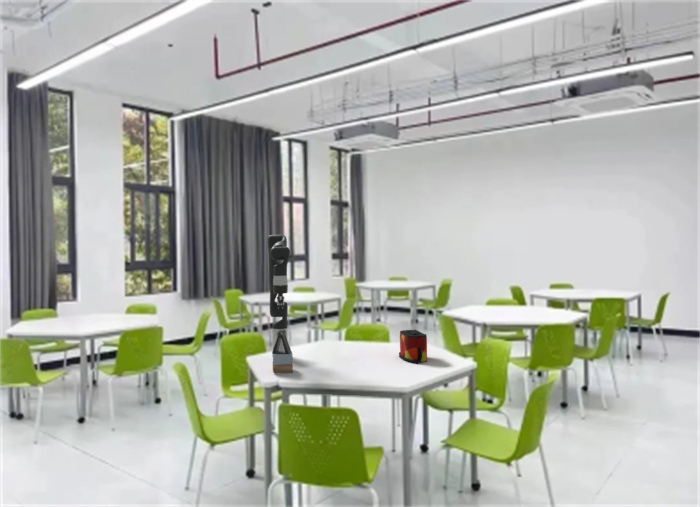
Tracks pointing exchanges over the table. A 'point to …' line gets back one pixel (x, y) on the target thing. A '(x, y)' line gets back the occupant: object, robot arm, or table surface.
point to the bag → (413, 346)
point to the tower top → (282, 359)
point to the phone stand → (285, 343)
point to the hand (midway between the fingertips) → (280, 314)
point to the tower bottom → (283, 368)
